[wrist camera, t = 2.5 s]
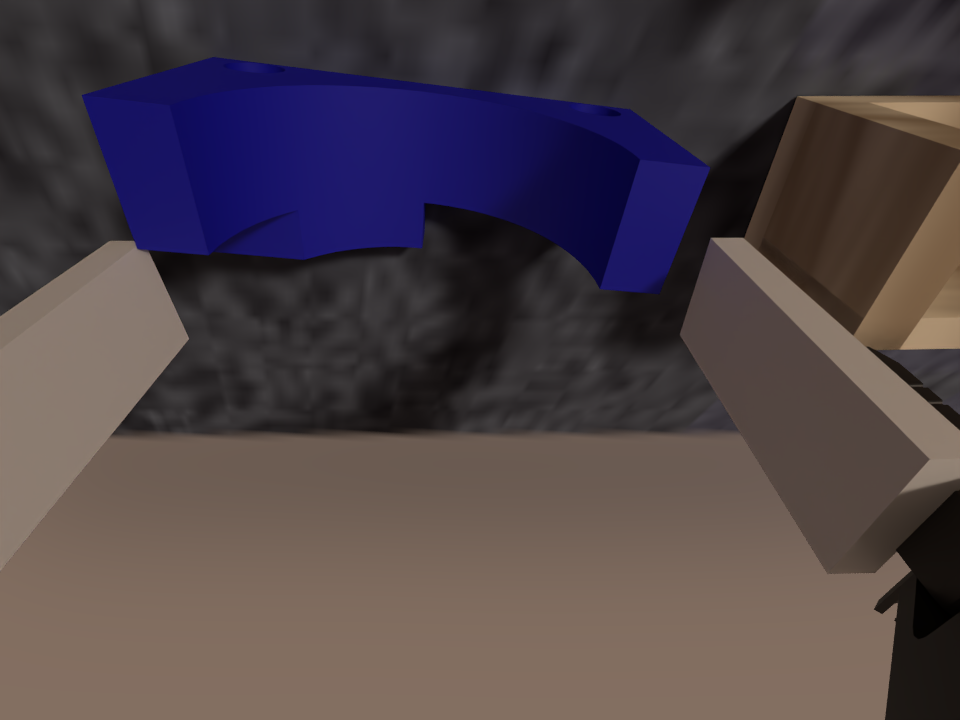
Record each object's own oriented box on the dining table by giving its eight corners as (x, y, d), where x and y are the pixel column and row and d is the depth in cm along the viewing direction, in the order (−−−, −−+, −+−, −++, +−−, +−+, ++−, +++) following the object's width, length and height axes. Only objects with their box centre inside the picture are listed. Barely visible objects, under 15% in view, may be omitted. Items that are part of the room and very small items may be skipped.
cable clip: (247, 212, 16) (158, 307, 11) (216, 56, 13) (81, 94, 8) (590, 245, 17) (639, 343, 12) (628, 108, 14) (710, 167, 10)
